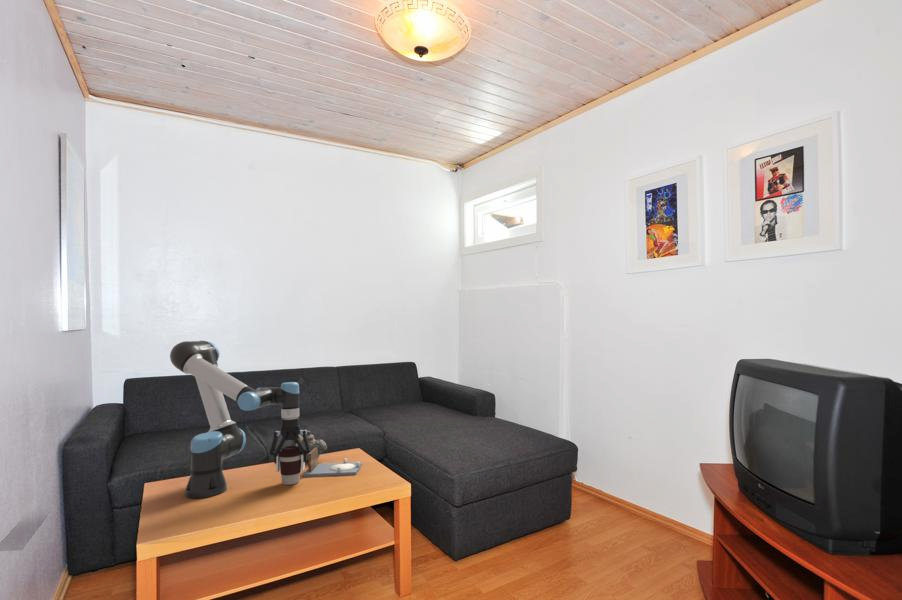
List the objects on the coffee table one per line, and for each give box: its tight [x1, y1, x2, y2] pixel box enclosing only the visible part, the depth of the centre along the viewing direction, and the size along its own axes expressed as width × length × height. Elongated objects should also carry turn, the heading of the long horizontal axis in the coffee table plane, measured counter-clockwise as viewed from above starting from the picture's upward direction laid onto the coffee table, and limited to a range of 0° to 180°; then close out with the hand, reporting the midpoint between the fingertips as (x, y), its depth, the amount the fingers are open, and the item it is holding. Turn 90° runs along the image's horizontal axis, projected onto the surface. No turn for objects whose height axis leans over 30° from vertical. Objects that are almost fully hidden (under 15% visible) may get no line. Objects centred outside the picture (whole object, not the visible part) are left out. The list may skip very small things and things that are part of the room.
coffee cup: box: [278, 445, 302, 486], centre depth 200 cm, size 10×10×15 cm
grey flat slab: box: [302, 458, 363, 478], centre depth 217 cm, size 24×17×3 cm
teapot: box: [291, 430, 328, 462], centre depth 236 cm, size 21×12×15 cm, turn 68°
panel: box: [307, 447, 319, 472], centre depth 216 cm, size 3×12×8 cm, turn 2°
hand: (290, 470), depth 200 cm, fingers closed on coffee cup, 10 cm apart
